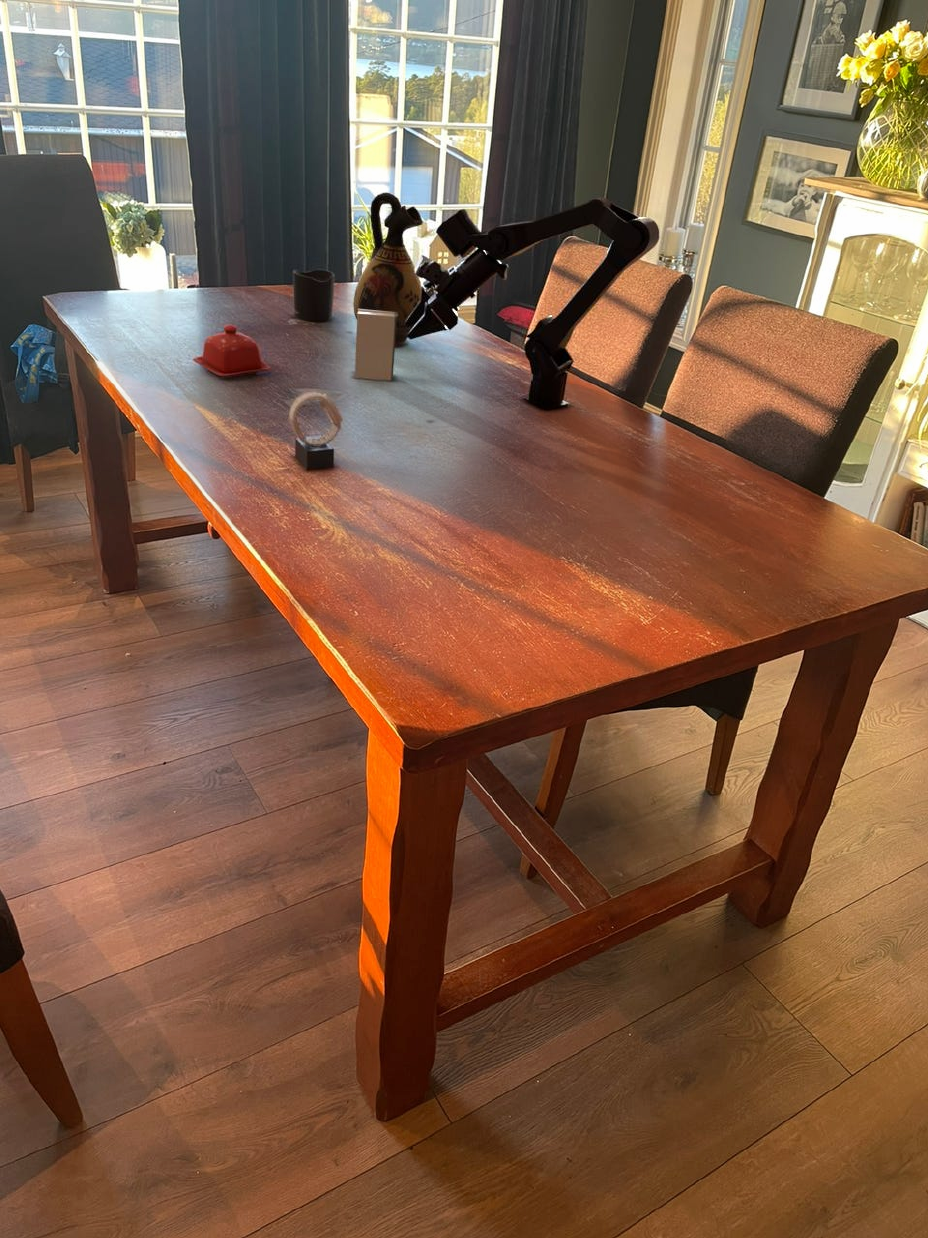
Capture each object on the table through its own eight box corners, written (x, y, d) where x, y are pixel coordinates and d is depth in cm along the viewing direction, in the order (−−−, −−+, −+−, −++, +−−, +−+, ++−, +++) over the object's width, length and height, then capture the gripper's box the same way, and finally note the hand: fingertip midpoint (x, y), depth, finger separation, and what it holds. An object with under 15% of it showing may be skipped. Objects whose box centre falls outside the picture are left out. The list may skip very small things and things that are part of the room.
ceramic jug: (434, 342, 212) (447, 199, 196) (394, 355, 200) (404, 203, 185) (374, 325, 219) (381, 186, 203) (332, 336, 207) (336, 189, 192)
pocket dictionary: (392, 375, 188) (396, 312, 182) (392, 380, 185) (396, 316, 179) (355, 372, 187) (357, 308, 181) (354, 377, 184) (357, 313, 178)
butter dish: (219, 382, 174) (218, 336, 169) (190, 364, 181) (187, 319, 176) (273, 374, 181) (273, 330, 176) (243, 358, 188) (242, 314, 183)
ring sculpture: (345, 466, 146) (348, 398, 141) (295, 471, 143) (296, 401, 137) (332, 453, 150) (334, 386, 145) (284, 457, 147) (284, 388, 141)
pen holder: (299, 309, 224) (299, 266, 219) (337, 315, 223) (339, 271, 218) (287, 319, 216) (287, 273, 211) (327, 324, 215) (328, 279, 210)
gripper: (438, 233, 182) (378, 287, 186) (446, 252, 166) (380, 310, 170) (474, 278, 187) (414, 330, 191) (484, 301, 171) (420, 356, 176)
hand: (407, 330), depth 182 cm, fingers open, 9 cm apart
